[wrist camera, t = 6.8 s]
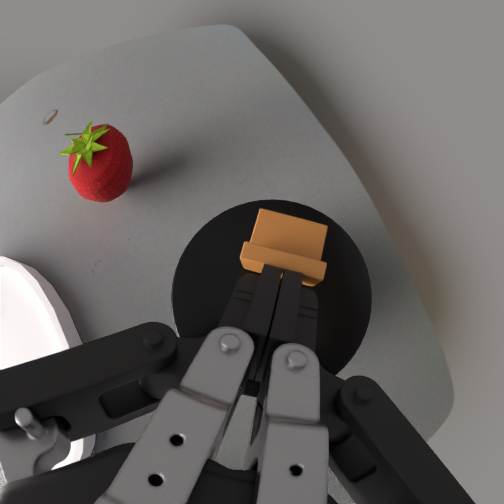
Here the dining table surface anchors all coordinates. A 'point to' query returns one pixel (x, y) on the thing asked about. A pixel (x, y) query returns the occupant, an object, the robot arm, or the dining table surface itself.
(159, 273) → the dining table surface
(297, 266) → the orange l-shaped block
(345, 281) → the travel cup
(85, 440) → the plate
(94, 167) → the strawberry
